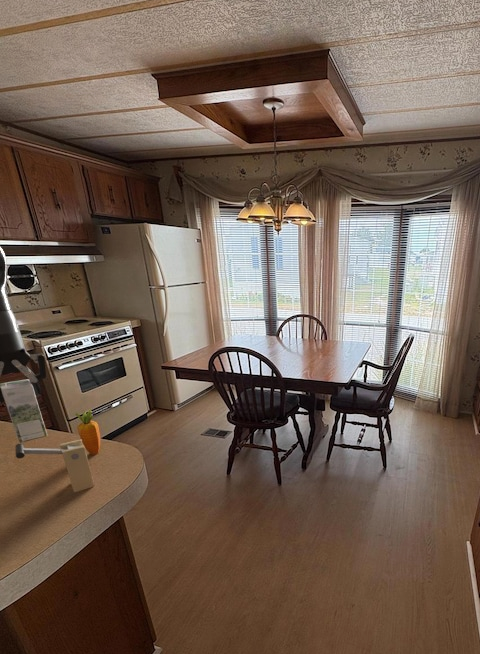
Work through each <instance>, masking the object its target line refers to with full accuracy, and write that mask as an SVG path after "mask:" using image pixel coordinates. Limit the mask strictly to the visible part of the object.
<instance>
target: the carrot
mask: <svg viewBox="0 0 480 654" xmlns="http://www.w3.org/2000/svg"><path fill="white" fill-rule="evenodd" d="M92 414H93V411H92V410H87V411H84V412H83V413H82V416H81V415H80V414H79V413H78V412H76V413H74V416H76V417H77V418H78V419H79V420H80V423H79V425H77V432H78V436H79V439H81V440H82V443H83V445H84V448H85V451H87V452H88V453H89V455H91V456H95V455H98V454H99V452H100V449H101V432H100V427H99V424H98V422H96V421H94V420H92V419H93V418H94V415H92Z"/></svg>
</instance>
